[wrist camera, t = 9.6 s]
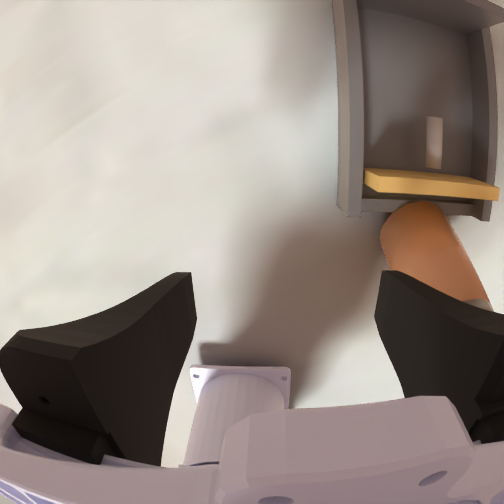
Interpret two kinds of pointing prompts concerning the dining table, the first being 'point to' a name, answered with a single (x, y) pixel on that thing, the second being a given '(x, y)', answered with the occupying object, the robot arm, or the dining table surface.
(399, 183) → the tan pusher block
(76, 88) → the dining table surface
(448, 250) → the jar
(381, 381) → the dining table surface
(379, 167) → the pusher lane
